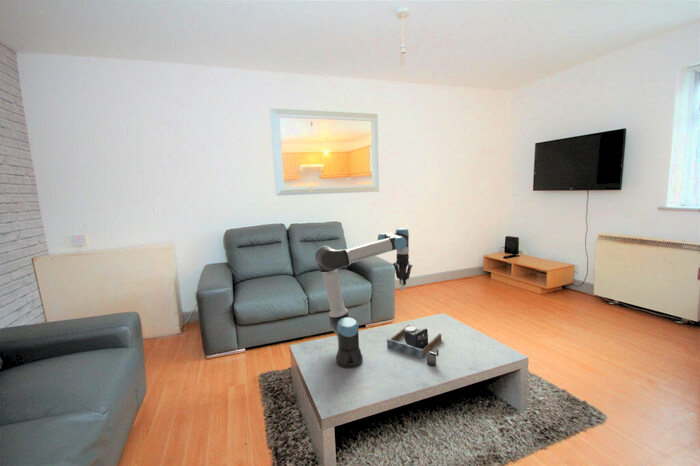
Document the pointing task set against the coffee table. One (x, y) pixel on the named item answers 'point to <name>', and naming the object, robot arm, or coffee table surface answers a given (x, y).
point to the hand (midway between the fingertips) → (402, 289)
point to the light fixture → (416, 337)
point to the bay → (410, 349)
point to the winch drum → (431, 358)
